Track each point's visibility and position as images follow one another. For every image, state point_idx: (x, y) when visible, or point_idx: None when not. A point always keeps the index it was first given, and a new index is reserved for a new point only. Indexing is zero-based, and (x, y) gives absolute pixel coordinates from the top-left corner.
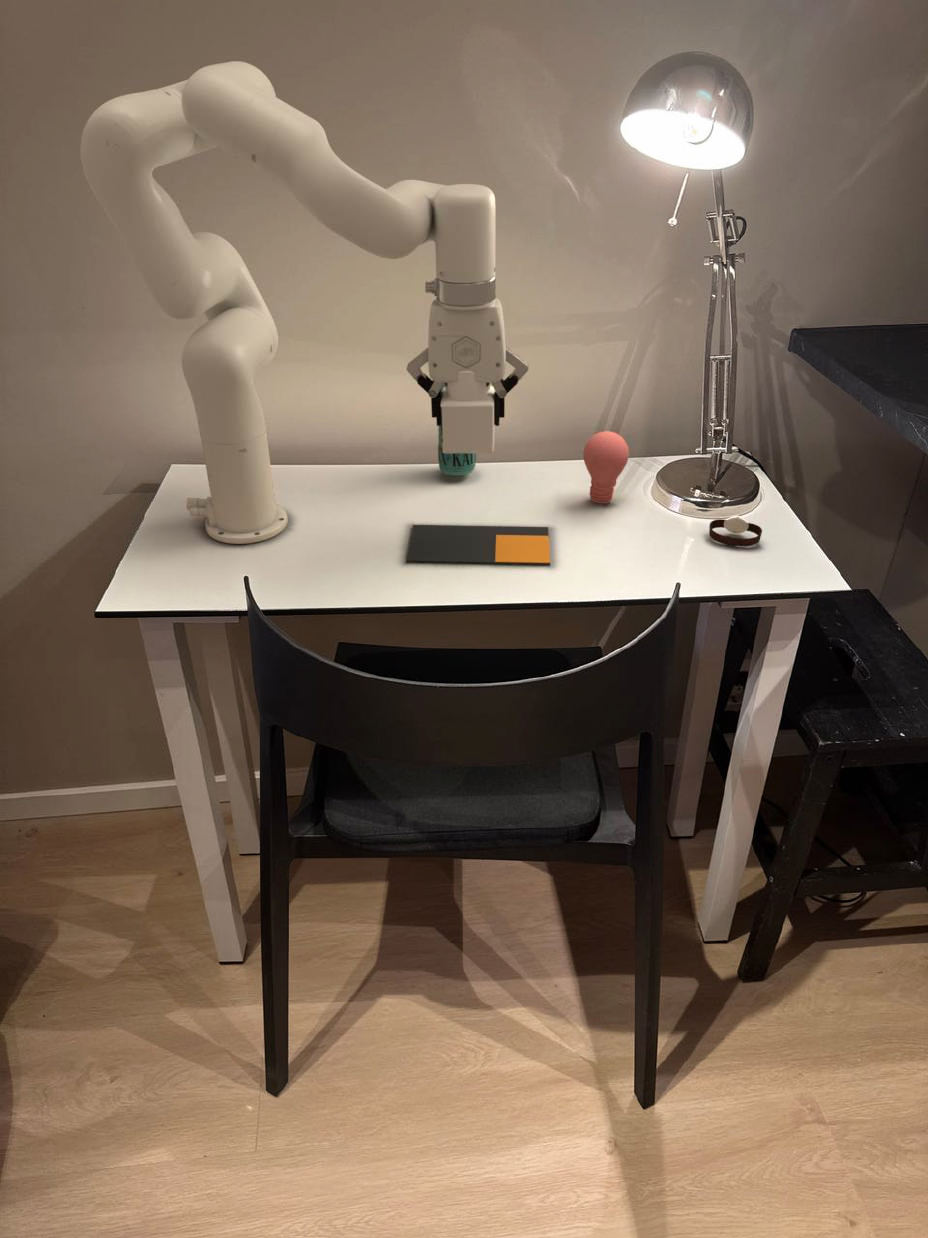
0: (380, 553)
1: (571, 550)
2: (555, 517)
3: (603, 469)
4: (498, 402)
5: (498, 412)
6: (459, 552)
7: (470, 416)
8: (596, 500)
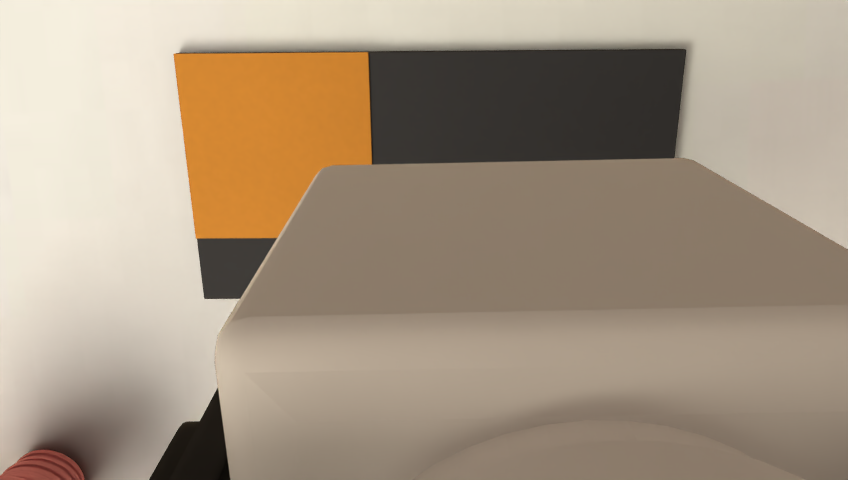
0: (772, 112)
1: (115, 161)
2: (189, 370)
3: None
4: (178, 476)
5: (216, 403)
6: (496, 115)
7: (522, 257)
8: (59, 457)
